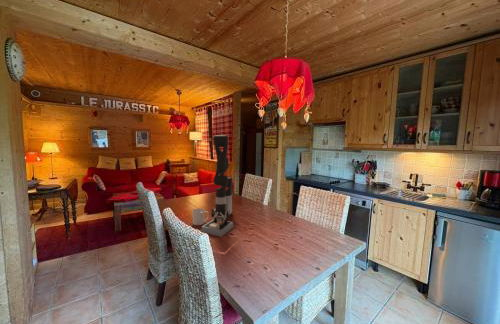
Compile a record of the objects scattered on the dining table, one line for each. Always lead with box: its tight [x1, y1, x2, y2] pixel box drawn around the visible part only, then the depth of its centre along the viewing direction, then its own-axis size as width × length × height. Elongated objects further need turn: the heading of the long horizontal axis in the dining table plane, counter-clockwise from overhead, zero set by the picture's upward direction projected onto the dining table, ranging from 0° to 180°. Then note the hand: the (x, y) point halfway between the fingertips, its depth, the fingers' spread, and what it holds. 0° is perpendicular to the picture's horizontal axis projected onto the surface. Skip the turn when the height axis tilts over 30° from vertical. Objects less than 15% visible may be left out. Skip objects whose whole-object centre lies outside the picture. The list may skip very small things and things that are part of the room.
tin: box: [216, 216, 224, 229], centre depth 152 cm, size 5×5×8 cm
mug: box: [192, 208, 209, 226], centre depth 161 cm, size 12×9×11 cm
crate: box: [201, 219, 234, 237], centre depth 149 cm, size 17×16×5 cm
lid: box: [209, 223, 220, 227], centre depth 144 cm, size 5×5×1 cm
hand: (220, 223), depth 152 cm, fingers open, 8 cm apart
